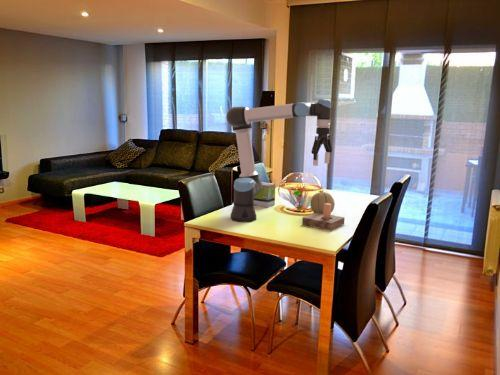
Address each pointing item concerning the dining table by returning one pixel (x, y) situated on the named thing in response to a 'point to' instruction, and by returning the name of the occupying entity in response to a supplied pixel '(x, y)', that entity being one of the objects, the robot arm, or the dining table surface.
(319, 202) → the cantaloupe
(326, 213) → the peg
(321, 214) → the socket block
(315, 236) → the dining table surface
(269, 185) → the tea box
